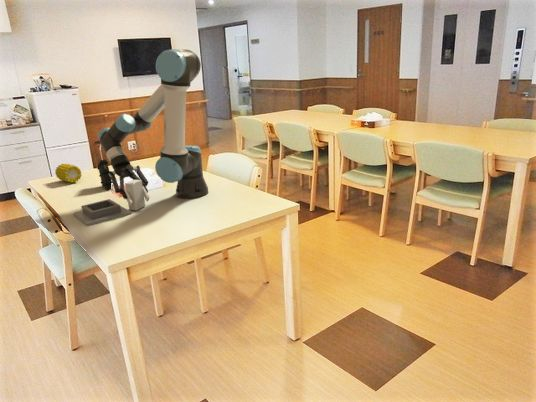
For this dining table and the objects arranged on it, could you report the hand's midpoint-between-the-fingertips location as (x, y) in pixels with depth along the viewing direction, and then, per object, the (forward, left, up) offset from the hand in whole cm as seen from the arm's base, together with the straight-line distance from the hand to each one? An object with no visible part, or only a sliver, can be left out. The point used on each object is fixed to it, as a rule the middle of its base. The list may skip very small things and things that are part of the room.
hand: (139, 201), depth 176 cm
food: (+64, -41, -4) cm, 76 cm away
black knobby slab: (+36, -32, -4) cm, 48 cm away
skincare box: (+3, -2, -4) cm, 5 cm away
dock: (+15, +6, -4) cm, 16 cm away
